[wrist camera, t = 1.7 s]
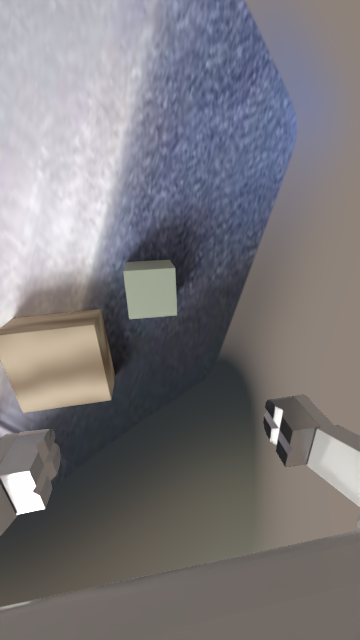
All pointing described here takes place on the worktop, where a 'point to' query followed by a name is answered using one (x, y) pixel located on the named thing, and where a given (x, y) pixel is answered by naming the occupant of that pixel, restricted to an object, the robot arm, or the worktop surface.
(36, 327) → the birch block
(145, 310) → the sage block
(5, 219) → the worktop surface
